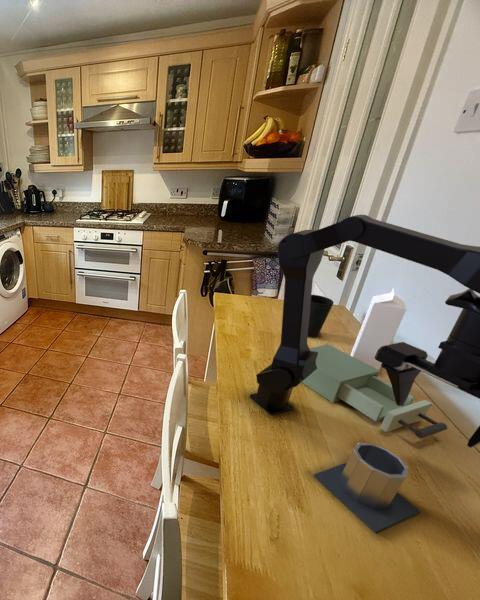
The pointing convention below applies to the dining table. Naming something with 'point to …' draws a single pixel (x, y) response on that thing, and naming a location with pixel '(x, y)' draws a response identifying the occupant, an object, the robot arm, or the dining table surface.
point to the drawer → (387, 406)
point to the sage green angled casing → (335, 371)
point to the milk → (378, 327)
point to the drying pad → (372, 518)
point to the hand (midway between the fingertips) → (432, 424)
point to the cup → (318, 314)
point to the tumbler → (373, 475)
